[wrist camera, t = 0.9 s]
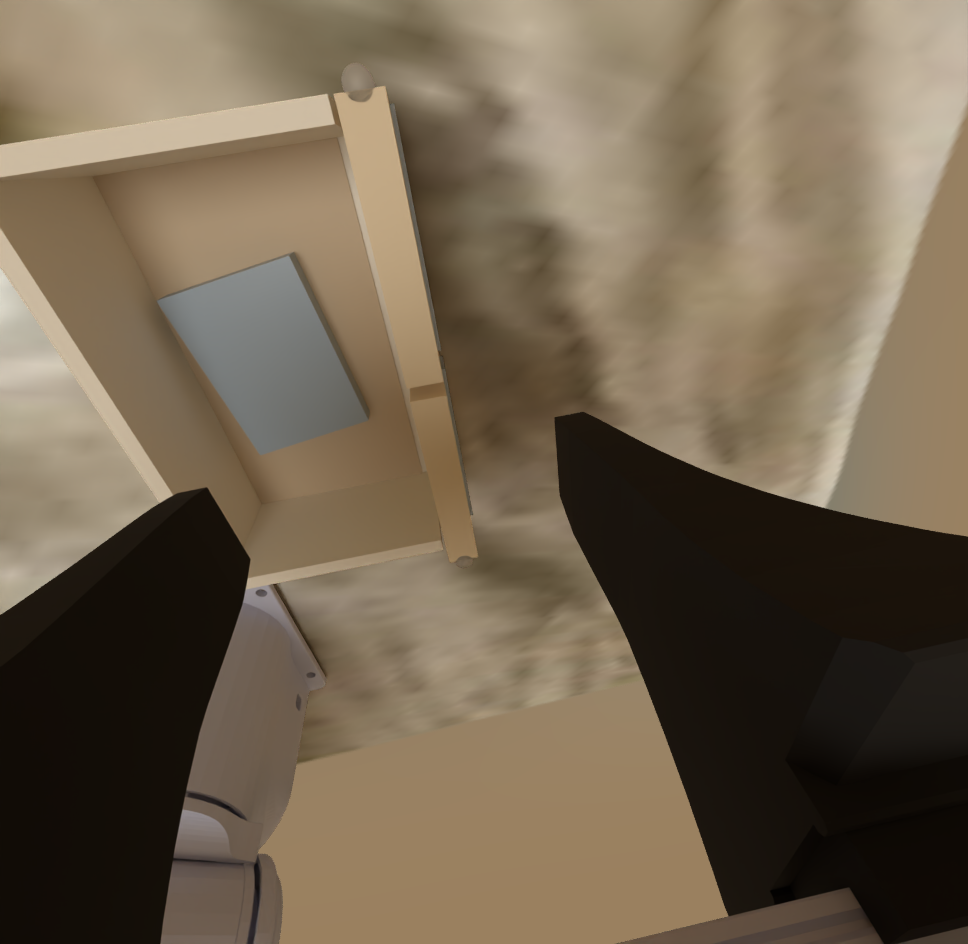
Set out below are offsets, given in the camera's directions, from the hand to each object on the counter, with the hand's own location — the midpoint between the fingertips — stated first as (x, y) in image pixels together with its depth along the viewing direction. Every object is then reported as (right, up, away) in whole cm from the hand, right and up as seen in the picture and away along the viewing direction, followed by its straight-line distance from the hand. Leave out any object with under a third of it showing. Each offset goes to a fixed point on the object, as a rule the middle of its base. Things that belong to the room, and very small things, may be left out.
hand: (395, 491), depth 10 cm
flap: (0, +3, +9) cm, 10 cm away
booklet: (-6, +5, +7) cm, 10 cm away
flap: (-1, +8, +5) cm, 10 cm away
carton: (-5, +5, +7) cm, 10 cm away
